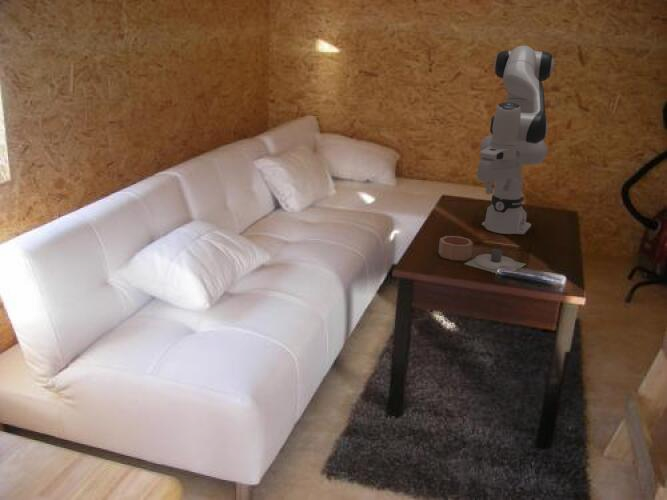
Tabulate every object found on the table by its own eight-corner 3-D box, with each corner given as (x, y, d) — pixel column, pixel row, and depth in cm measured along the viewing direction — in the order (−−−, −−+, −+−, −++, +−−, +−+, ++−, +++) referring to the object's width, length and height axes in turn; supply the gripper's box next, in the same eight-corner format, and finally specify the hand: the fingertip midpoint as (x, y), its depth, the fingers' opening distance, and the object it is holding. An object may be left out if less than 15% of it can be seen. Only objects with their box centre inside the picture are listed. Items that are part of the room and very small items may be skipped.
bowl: (448, 249, 242) (450, 234, 240) (475, 256, 235) (477, 241, 233) (433, 256, 234) (435, 240, 232) (460, 264, 227) (462, 247, 225)
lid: (486, 254, 236) (488, 241, 234) (522, 264, 228) (524, 250, 226) (467, 263, 226) (469, 249, 224) (505, 274, 218) (507, 259, 216)
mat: (484, 254, 238) (485, 253, 237) (526, 265, 228) (526, 264, 228) (463, 265, 226) (464, 263, 226) (506, 277, 216) (506, 275, 216)
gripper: (513, 149, 227) (508, 188, 231) (476, 152, 214) (471, 193, 218) (528, 152, 222) (523, 191, 226) (491, 155, 209) (486, 197, 214)
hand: (497, 192), depth 222 cm, fingers open, 8 cm apart
